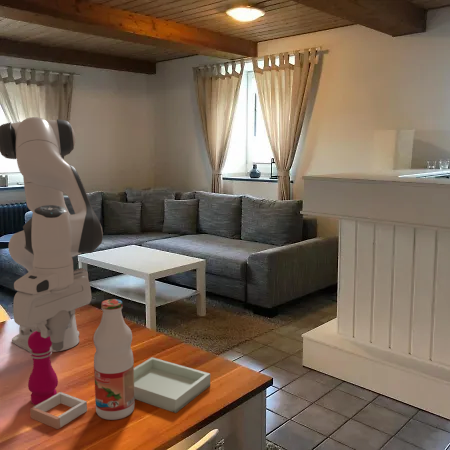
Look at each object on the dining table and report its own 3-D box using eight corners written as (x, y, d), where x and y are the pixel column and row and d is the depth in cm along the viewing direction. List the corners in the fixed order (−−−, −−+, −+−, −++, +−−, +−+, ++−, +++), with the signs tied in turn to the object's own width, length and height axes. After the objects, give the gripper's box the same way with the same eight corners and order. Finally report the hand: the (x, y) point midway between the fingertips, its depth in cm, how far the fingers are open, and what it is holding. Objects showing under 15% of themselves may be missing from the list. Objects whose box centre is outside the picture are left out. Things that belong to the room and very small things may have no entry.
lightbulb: (63, 357, 115) (60, 312, 113) (39, 354, 116) (36, 310, 114) (76, 346, 121) (74, 303, 119) (53, 344, 122) (50, 301, 120)
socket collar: (30, 418, 119) (30, 408, 118) (60, 400, 127) (60, 391, 126) (57, 429, 114) (57, 419, 114) (87, 410, 122) (86, 401, 122)
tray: (114, 392, 131) (113, 379, 131) (152, 368, 145) (152, 357, 144) (175, 413, 121) (175, 399, 121) (210, 385, 135) (210, 373, 134)
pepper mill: (35, 391, 131) (31, 320, 128) (62, 392, 131) (59, 320, 128) (24, 406, 124) (19, 330, 121) (52, 406, 124) (48, 331, 120)
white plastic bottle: (141, 412, 122) (139, 303, 117) (106, 425, 116) (102, 311, 111) (123, 396, 129) (120, 293, 124) (89, 408, 123) (84, 300, 118)
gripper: (78, 264, 126) (80, 316, 128) (7, 284, 108) (11, 344, 111) (96, 268, 122) (98, 321, 125) (26, 289, 105) (30, 350, 108)
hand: (56, 332), depth 118 cm, fingers closed on lightbulb, 5 cm apart
